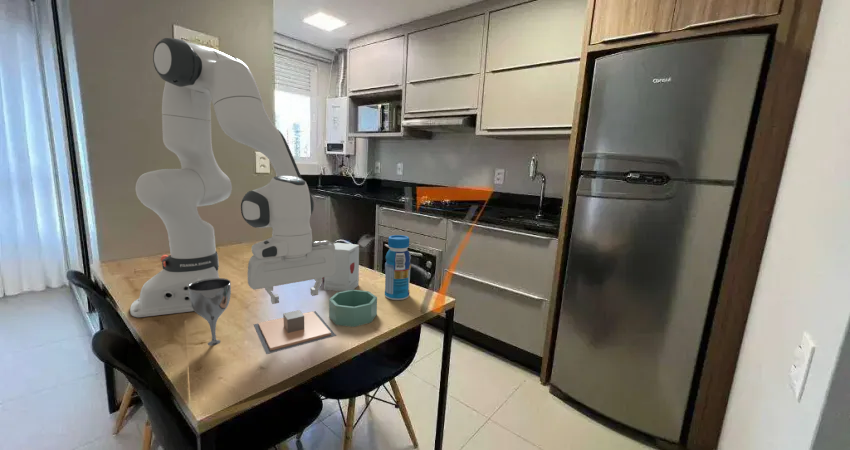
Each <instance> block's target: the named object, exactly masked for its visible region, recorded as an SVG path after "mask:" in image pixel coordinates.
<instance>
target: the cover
mask: <svg viewBox="0 0 850 450" xmlns="http://www.w3.org/2000/svg"><path fill="white" fill-rule="evenodd" d="M282 316H283V317H279V318H275V319H271V320H266V321H265V320H264V321H261V322H258V323H257V324H258V325H259V327H260V330H261V332H262V334H263V336H264V338H265V340H266V342H267V345H268V347H269V349H270V351H271V350H275V349H278V348H282V347H286V346H290V345H294V344H298V343H301V342H305V341H309V340H313V339H317V338H320V337H324V336H328V335H331V332H330V331H329V329H328V328H327V327H326V326H325V325H324V324H323V322H322V321H321V320H320V319H319V318H318V316H317V315H316V314H315V313H314V311H309V312H302V310H300V309H298V310H293V311H287V312H283V315H282Z"/></svg>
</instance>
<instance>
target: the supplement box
mask: <svg viewBox="0 0 850 450" xmlns="http://www.w3.org/2000/svg"><path fill="white" fill-rule="evenodd" d="M334 243H335V244H334V245H335V254H334V258H335V264H336V273H335V274H334V275H333V276H330V277H324V279H323V281H324V283H323V284H324V286H323V289H324V290H323V291H328V290H329V291H334V292H335V291H336V292H343V291H348V290H356V288H357V287H358V286H359V282H360V281H359V279H360V278H359V277H360V275H359V273H360V270H359V269H360V244H355V243H354V244H353V243H344V242H334Z"/></svg>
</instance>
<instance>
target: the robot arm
mask: <svg viewBox="0 0 850 450" xmlns="http://www.w3.org/2000/svg"><path fill="white" fill-rule="evenodd" d="M153 49H154V50H153V53H152V60H153V61H152V62H153V67H154V68H155V69H154V70H155V71H156V72H157V74H158V76H159V77H160V78H161V79H162V80H163V81H164V86H163V87H164V88H163V92H162V101H161V102H162V103H161V123H162V124H161V126H162V129H161V130H162V142H163V144H164V147H165V149H167V150H169V151H170V152H172V153H173V154H175V155H176V156H177V158H178V160H179V163H180V166H181V167H180V168H162V169H157V170H151V171H148V172H145V173H143V174H141V175H140V176H139V177H138V178H137V180H136V182H135V194H136V197H137V199H138V201H140V203H141V204H142V205H143V206H145V207H146V208H148V209H150V210H151V211H153V212H154V213H155V214H157V216H158V217H159V218H160V220H161V221H162V223H163V224H164V227H165V229H166V231H167V237H168V243H169V252H170V253H169V255H168V254H162V255H161V256H160V261H161V266H162V269H161V271H158V273H156V274H155V275H153V276H152V277H151V278H149V279H148V280H147V281H146V282H144V283H143V286H142V287H141V289H140V293H139V297H138V298H137V299H135V300H134V301H133V302H132V303H131V305H130V307H129V308H130V309H129V312H130V313H129V314H130V315H131V316H132V317H134V318H146V317H154V316H161V315H162V316H163V315H172V314H181V313H187V312H188V313H189V312H190V313H191V312H195V311H194V309H193V307H192V305H191V302H190V298H189V289H188V287H189V285H190V284H192V283H194V282H197V281H200V280H204V279H211V278H220V275H219V268H220V265H219V264H220V263H219V261H220V260H219V255H218V251H216V236H215V227H214V225H212V224H211V223H209V222H208V221H206V220H204V219H202V217H201V216H200V212H199V211H198V207H204V206H205V207H206V206H211V205H216V204H218V203H221V202H223V201H225V200H227V199H229V197H230V196H231V195H232V191H233V186H232V185H233V184H232V182H231V178H229V176H228V175H227V174H226V173H225V172H223V170H222V169H221V167H220V166H219V164H218V162H217V160H216V158H215V155H214V150H213V145H212V143H213V142H212V110H211V105H213V109H214V112H215V113H214V114H215V117H216V120H217V122H218V125H219V126H220V129H221V130H222V132H223V133H224V134H225V135H226V136H228V137H229V138H231V140H233V141H235V142H236V143H238V144H242V145H245V146H247V147H249V148H252V149H253V150H256V151H258V152H260V153H261V154H263V155H264V156H265V157H266V158H267V159H268V160H269V161H270V163H271V165H272V168H273V170H274V172H275V174H276V176H273V177H272V178H271V180H270V181H269V182H267V184H266V185H263V186H260V187H258V188H256V189H253V190H249V191H247V192H246V193H245V194H244V195H243V196H242V200H241V202H240V212H241V216H242V219H243V220H244V221H245V222H246V223H247V225H249V226H250V227H252V228H258V229H264V228H265V229H266V228H271V229H272V231H271V234H272V235H271V237H269V238H267V239H264V240H261V241H258V242H256V243H254V244H252V246H251V253H252V255H251V257H250V258H249V260H248V264H247V284H248V286H249V287H250V288H251V289H252V290H253V291H254V290H255V291H256V290H260V289H264V290H265V291H266V292H267V294H268V295H269V296H270V302H271V304H272V305H275V304H279V303H280V296H279V295H278V294H277V293H275V294H274V293H273V291H274V287H279V286H283V285H288V284H289V285H290V284H296V283H300V282H306V281H312V280H314V281H315V283H314V285H313V287H310V288H309V289H310V295H311V296H312V297H315V296H318V295H319V289H320V287H321V285H322V284H323V279H322V278H324V277H330V276H333V275H334V274H335V273H336V264H335V258H334V254H335V245H334V244H333V243H334V242H332V241H330V240H327V239H326V240H322V241H321V240H320V241H313V232H312V230H313V229H312V227H311V224H310V223H311V222H310V220H311V217H312V215H313V212H314V209H315V200H314V198H313V196H312V194H311V192H310V190H309V186H308V184H307V181H306V180H304V179H303V177H302V175H301V173H300V171H299V169H298V166H297V164H296V161H295V158H294V156H293V153H292V152H291V148H290V147H289V146H290V145H288V142H287V140H286V138H285V136H284V135H283V133H282V132H281V130H279V129H278V128H277V127H276V126H275V123H273V121H272V120H271V118H270V116H269V115H268V113H267V110H266V109H265V105H264V102H263V98H262V95H261V92H260V89H259V85H258V84H257V82H256V79H255V77H254V75H253V73H252V72H251V69H250V68H249V67H248V65H247V64H246V63H245V62H243V61H242V60H241V59H239V58H237V57H235V56H233V55H228V54H226V53H224V52H222V51H219V50H218V49H215V48H212V47H210V46H203V45H200V44H196V43H192V42H188V41H185V40H183V39H180V38H173V37H172V38H171V37H164V38H161V40H160V41H158V42H157V43H156V44H155V47H154V48H153ZM329 243H330V244H329Z"/></svg>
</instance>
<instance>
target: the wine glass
mask: <svg viewBox="0 0 850 450" xmlns="http://www.w3.org/2000/svg"><path fill="white" fill-rule="evenodd" d="M231 285H232V284H231V280H230V279H227V278H222V277H219V278H211V279H204V280H200V281H197V282H194V283H192V284H190V285H189V287H188V289H189V298H190V302H191V305H192V307H193V309H194V311H193V312H195V313H196V314H197V315H198V316H199V317H201V318H203V319H204V320H205V321H206V322H207V323H208V325H209V327H210V332H211V340H210V341H209V342H208V343H207V345H208V346H210V347H211V346H213V347H214V346H216V345H219V344H220V343H221V340H220V339H217V335H216V334H217V333H216V329H217V322H218V320H219V318H220V317H221V316H222V315H223V313H224V312H225V311H226V309H228V307H229V305H230V300H231V294H232V293H231V292H232V290H231V289H232V287H231Z"/></svg>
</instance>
